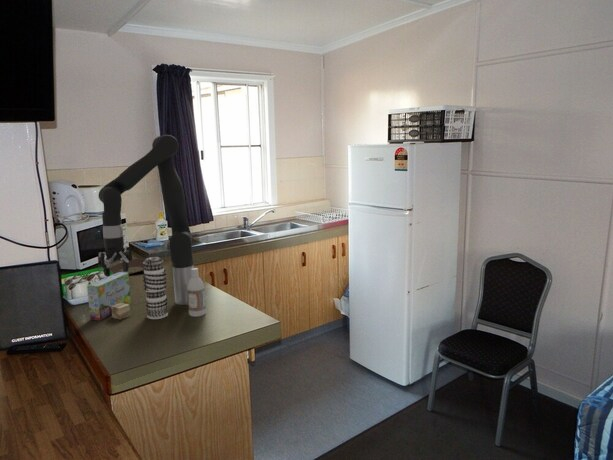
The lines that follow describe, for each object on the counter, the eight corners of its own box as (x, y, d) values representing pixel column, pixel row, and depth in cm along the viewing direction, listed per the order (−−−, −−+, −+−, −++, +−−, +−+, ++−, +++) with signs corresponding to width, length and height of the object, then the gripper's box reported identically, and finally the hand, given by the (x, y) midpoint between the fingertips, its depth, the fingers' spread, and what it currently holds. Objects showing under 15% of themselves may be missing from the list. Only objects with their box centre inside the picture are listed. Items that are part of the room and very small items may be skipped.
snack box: (101, 321, 180) (97, 286, 177) (89, 320, 181) (85, 285, 178) (131, 303, 200) (128, 271, 197) (120, 302, 201) (117, 271, 198)
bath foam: (185, 316, 183) (182, 270, 180) (194, 310, 190) (191, 266, 186) (200, 317, 181) (197, 271, 178) (208, 312, 188) (206, 267, 184)
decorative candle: (173, 315, 185) (168, 258, 180) (152, 321, 178) (147, 262, 174) (163, 309, 191) (158, 254, 187) (142, 315, 185) (137, 258, 180)
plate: (101, 269, 259) (100, 263, 258) (147, 261, 277) (146, 255, 277) (117, 279, 238) (117, 273, 238) (166, 269, 257) (166, 263, 256)
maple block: (130, 315, 185) (129, 304, 184) (120, 319, 181) (119, 308, 180) (122, 313, 188) (121, 302, 187) (112, 317, 183) (111, 306, 182)
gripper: (103, 239, 171) (107, 279, 174) (134, 233, 183) (137, 270, 186) (91, 237, 175) (95, 276, 178) (122, 232, 187) (125, 268, 190)
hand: (116, 273), depth 182 cm, fingers open, 8 cm apart
